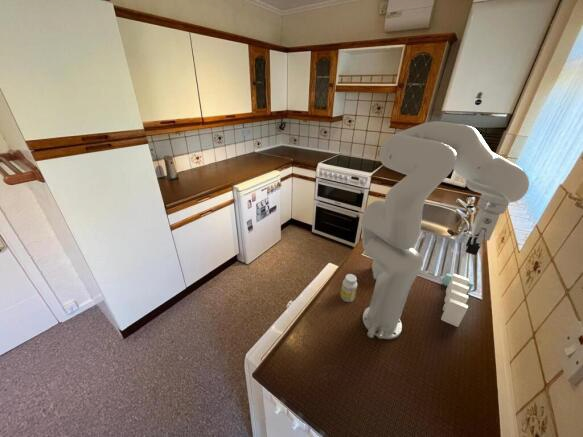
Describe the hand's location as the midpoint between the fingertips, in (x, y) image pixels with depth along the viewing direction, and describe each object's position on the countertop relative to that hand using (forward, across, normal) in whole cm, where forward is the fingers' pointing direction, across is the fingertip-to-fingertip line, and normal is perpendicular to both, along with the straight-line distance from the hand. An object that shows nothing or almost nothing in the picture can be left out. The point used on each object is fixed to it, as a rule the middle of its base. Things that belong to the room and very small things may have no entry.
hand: (471, 249), depth 87 cm
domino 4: (+19, -20, 0) cm, 27 cm away
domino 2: (+19, -10, 0) cm, 21 cm away
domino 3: (+19, -15, 0) cm, 24 cm away
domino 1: (+19, -5, 0) cm, 19 cm away
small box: (+19, -10, +27) cm, 34 cm away
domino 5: (+16, 0, -5) cm, 17 cm away
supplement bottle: (+19, -30, +33) cm, 48 cm away
